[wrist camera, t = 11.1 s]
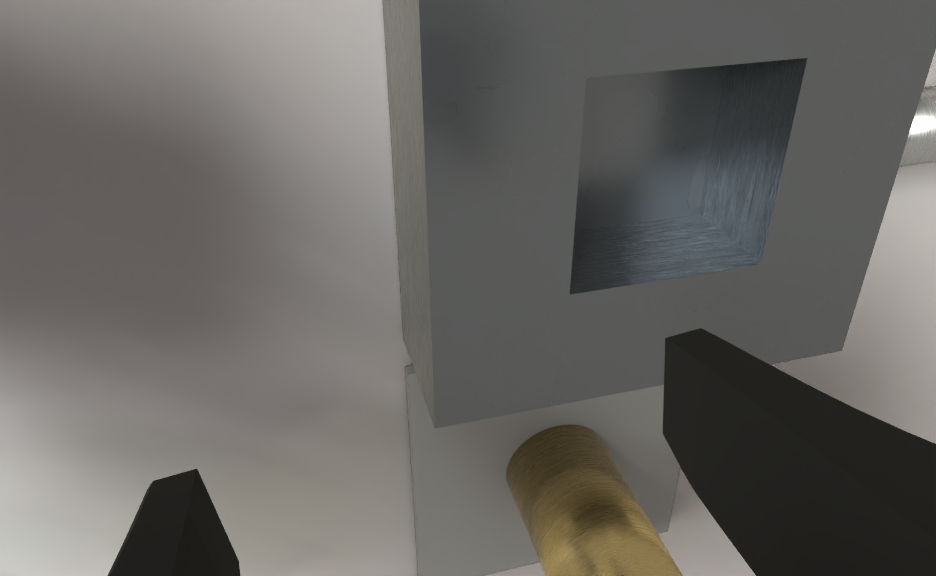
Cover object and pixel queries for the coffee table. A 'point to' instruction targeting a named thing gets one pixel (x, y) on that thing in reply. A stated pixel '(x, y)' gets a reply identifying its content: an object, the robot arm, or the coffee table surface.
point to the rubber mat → (485, 486)
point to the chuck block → (639, 182)
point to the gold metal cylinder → (582, 508)
